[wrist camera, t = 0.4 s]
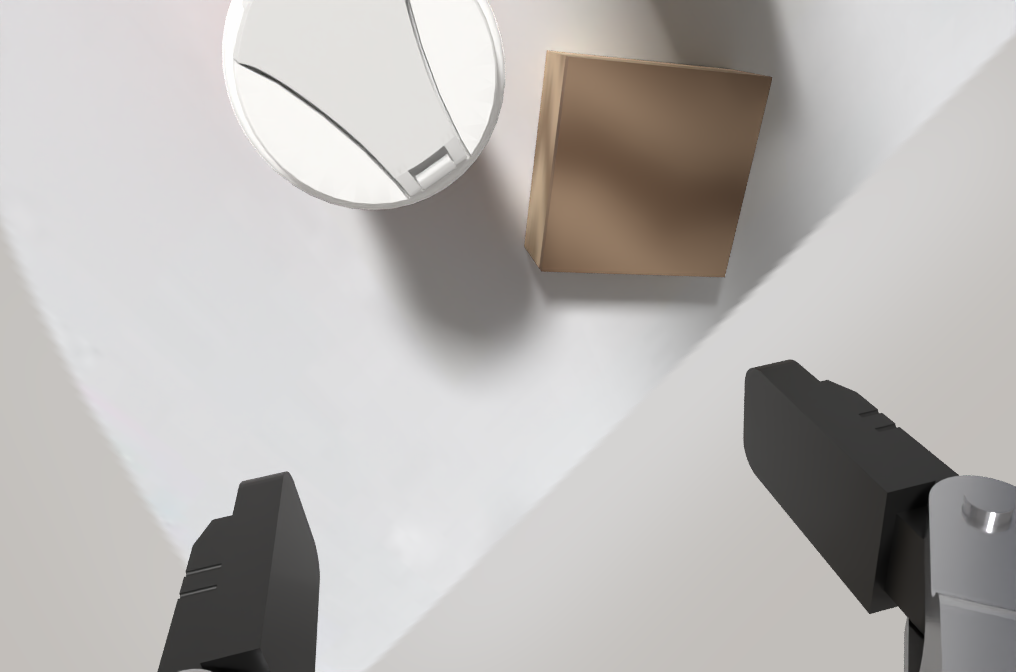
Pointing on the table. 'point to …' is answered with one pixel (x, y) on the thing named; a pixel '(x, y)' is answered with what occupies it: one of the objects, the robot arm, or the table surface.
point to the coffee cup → (365, 92)
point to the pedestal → (641, 165)
